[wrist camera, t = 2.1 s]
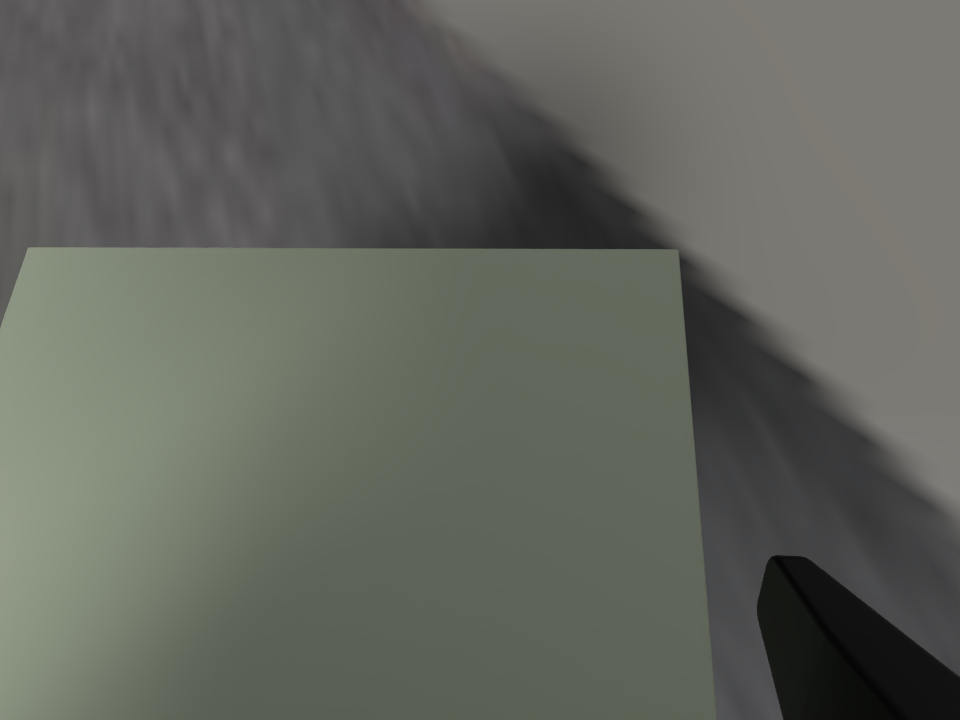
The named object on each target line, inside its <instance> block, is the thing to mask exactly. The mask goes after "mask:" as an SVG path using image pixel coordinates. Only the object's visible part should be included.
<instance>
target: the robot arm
mask: <svg viewBox="0 0 960 720" xmlns="http://www.w3.org/2000/svg"><path fill="white" fill-rule="evenodd" d="M757 615H758V621H759V626H760V630H761V633H762V637H763V641H764V645H765V649H766V653H767V657H768V661H769V665H770V669H771V673H772V677H773V681H774V684H775V688H776V692H777V696H778V700H779V704H780V708H781V712H782V716H783V720H960V677H959V676H958V675H956V674H955V673H954V672H953V671H951V670H950V669H949V668H948V667H946V666H945V665H944V664H942V663H941V662H940V661H939V660H937V659H936V658H935V657H933V656H932V655H931V654H930V653H928V652H927V651H926V650H924V649H923V648H922V647H921V646H919V645H918V644H917V643H916V642H914V641H913V640H912V639H910V638H909V637H908V636H907V635H905V634H904V633H903V632H901V631H900V630H899V629H898V628H896V627H895V626H894V625H892V624H891V623H890V622H889V621H887V620H886V619H885V618H884V617H882V616H881V615H880V614H878V613H877V612H876V611H875V610H873V609H872V608H871V607H869V606H868V605H867V604H866V603H864V602H863V601H862V600H861V599H859V598H858V597H857V596H855V595H854V594H853V593H852V592H850V591H849V590H848V589H846V588H845V587H844V586H843V585H841V584H840V583H839V582H837V581H836V580H835V579H834V578H832V577H831V576H830V575H829V574H827V573H826V572H825V571H823V570H822V569H821V568H820V567H818V566H817V565H816V564H814V563H813V562H812V561H810V560H809V559H807V558H805V557H801V556H782V555H776V556H772V557H771V558H770V559H769V560H768V563H767V565H766V569H765V573H764V577H763V582H762V586H761V590H760V594H759V598H758V603H757Z"/></svg>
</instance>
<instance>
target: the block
mask: <svg viewBox="0 0 960 720" xmlns="http://www.w3.org/2000/svg"><path fill="white" fill-rule="evenodd" d="M0 720H717V715H716V703H715V690H714V678H713V666H712V654H711V641H710V629H709V617H708V605H707V593H706V580H705V568H704V556H703V544H702V531H701V519H700V507H699V495H698V483H697V470H696V458H695V446H694V434H693V421H692V409H691V397H690V385H689V373H688V360H687V348H686V336H685V324H684V311H683V299H682V287H681V275H680V263H679V250H678V249H386V248H29V247H28V250H27V253H26V256H25V259H24V262H23V264H22V267H21V270H20V273H19V276H18V279H17V282H16V284H15V287H14V290H13V293H12V296H11V299H10V302H9V304H8V307H7V310H6V313H5V316H4V319H3V322H2V324H1V327H0Z"/></svg>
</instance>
